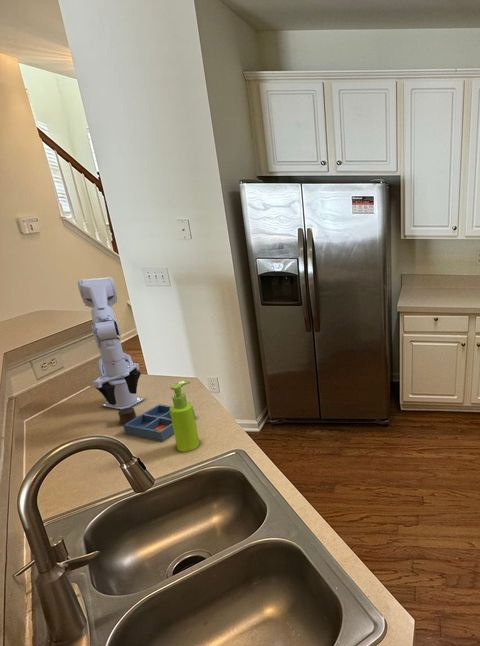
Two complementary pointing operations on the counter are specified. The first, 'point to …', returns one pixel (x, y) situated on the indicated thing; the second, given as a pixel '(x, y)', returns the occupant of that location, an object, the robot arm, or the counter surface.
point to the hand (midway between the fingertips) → (123, 398)
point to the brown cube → (126, 415)
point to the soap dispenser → (183, 420)
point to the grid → (152, 424)
